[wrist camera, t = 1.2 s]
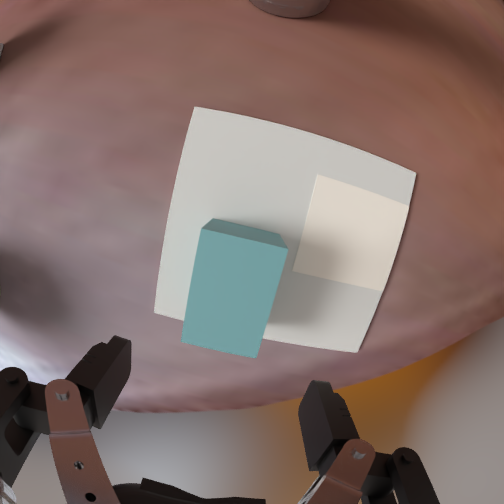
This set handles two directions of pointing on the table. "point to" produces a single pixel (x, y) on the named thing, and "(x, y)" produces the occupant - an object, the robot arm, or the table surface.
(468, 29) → the table surface
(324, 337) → the mat
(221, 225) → the card box
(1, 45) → the coffee box
